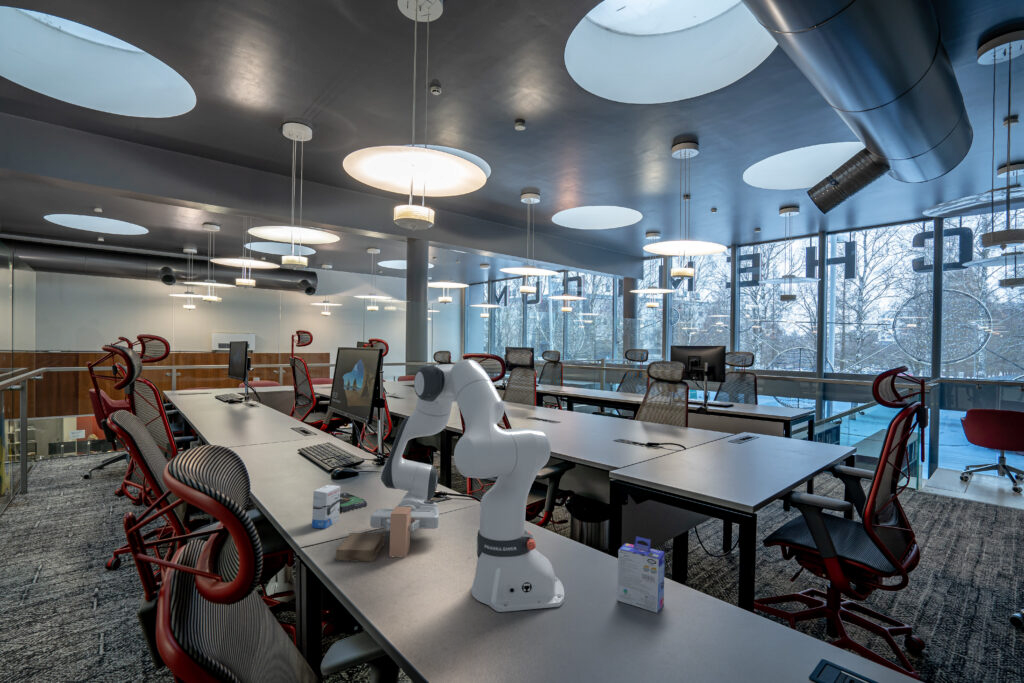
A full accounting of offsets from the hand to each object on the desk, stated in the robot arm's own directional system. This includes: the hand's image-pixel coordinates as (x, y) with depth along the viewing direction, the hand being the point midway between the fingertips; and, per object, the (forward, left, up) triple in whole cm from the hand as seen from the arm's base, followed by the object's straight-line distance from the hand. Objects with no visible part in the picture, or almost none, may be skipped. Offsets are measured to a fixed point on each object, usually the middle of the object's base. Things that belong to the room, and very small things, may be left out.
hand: (400, 528), depth 134 cm
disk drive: (+30, -41, -8) cm, 51 cm away
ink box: (+29, -22, -7) cm, 37 cm away
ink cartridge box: (-62, +24, -7) cm, 67 cm away
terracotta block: (0, -1, -7) cm, 7 cm away
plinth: (+11, -1, -7) cm, 13 cm away
